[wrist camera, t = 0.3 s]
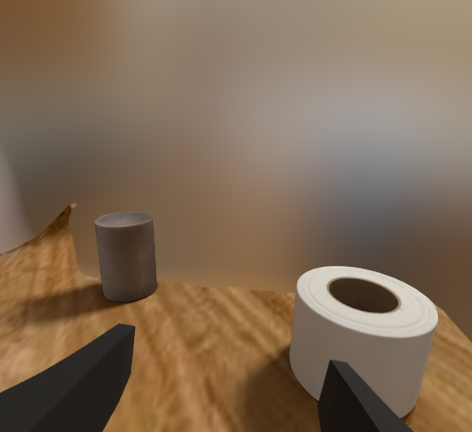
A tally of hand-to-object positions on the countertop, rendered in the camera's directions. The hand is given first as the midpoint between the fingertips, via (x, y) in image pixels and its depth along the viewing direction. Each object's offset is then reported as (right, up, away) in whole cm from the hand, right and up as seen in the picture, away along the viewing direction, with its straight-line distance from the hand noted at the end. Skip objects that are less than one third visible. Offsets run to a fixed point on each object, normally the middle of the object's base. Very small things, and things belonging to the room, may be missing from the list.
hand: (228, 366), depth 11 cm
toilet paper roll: (+15, -14, +28) cm, 35 cm away
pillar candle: (-19, -8, +45) cm, 50 cm away
